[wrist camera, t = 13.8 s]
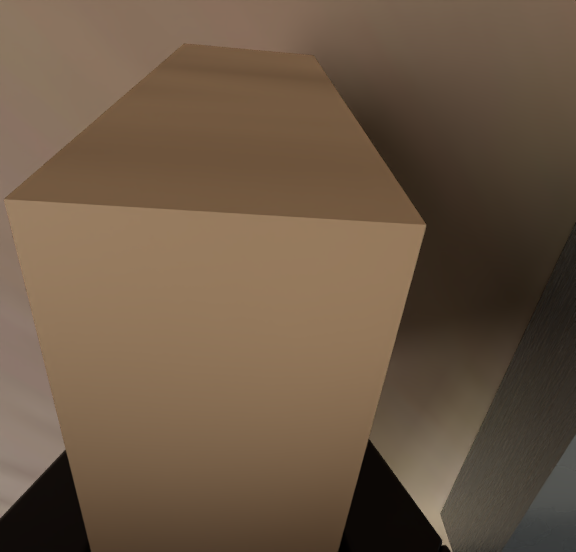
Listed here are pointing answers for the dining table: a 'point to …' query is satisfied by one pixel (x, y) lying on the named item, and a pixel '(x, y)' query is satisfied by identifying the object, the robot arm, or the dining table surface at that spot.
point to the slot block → (526, 439)
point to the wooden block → (217, 303)
